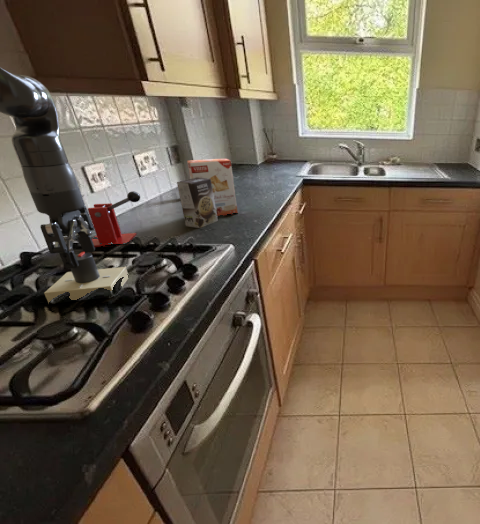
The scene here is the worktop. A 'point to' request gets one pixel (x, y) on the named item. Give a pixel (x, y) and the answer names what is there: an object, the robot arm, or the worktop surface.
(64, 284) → the panel
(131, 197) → the lever
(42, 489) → the worktop surface
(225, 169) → the cracker box
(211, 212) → the coffee box
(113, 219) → the red lever stand
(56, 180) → the robot arm
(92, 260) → the knob
